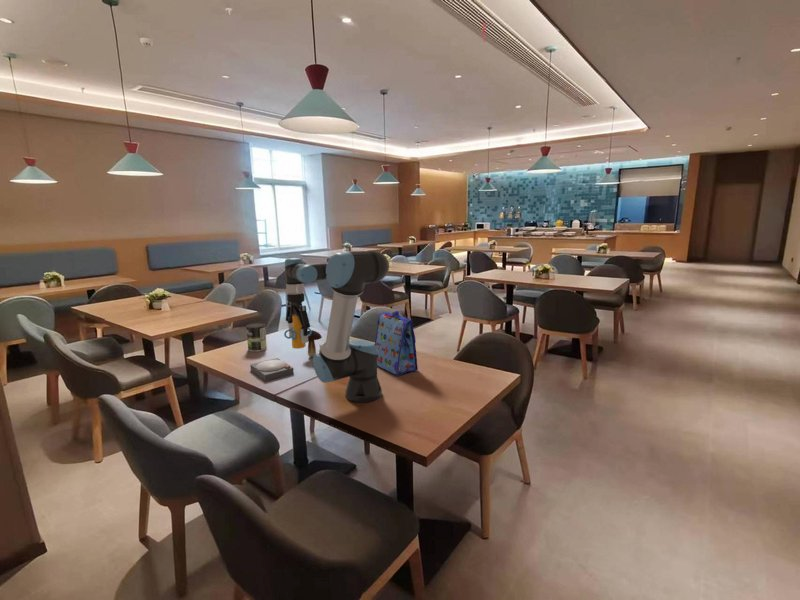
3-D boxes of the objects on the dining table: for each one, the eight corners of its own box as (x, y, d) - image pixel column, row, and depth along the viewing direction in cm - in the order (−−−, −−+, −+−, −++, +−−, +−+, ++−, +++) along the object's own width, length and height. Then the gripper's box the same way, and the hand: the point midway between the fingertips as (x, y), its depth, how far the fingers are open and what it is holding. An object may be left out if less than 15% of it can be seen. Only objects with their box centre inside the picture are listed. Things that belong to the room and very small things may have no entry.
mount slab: (293, 373, 191) (293, 366, 191) (265, 381, 182) (264, 373, 182) (277, 363, 205) (277, 356, 204) (250, 370, 196) (250, 363, 195)
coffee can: (252, 353, 221) (250, 328, 218) (245, 348, 228) (243, 324, 225) (270, 348, 227) (268, 325, 225) (262, 344, 235) (260, 321, 232)
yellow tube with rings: (303, 351, 176) (301, 318, 173) (282, 350, 178) (279, 317, 175) (315, 343, 187) (313, 312, 185) (294, 342, 189) (292, 311, 187)
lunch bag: (418, 370, 195) (418, 313, 189) (396, 377, 187) (395, 317, 181) (392, 358, 212) (392, 305, 206) (370, 363, 204) (369, 309, 198)
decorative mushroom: (301, 361, 207) (300, 333, 204) (301, 354, 218) (300, 328, 215) (323, 359, 210) (322, 332, 207) (322, 352, 220) (321, 326, 217)
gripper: (316, 295, 171) (319, 343, 175) (291, 288, 189) (294, 332, 193) (300, 297, 166) (303, 347, 170) (276, 290, 185) (279, 335, 189)
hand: (298, 339), depth 182 cm, fingers closed on yellow tube with rings, 12 cm apart
